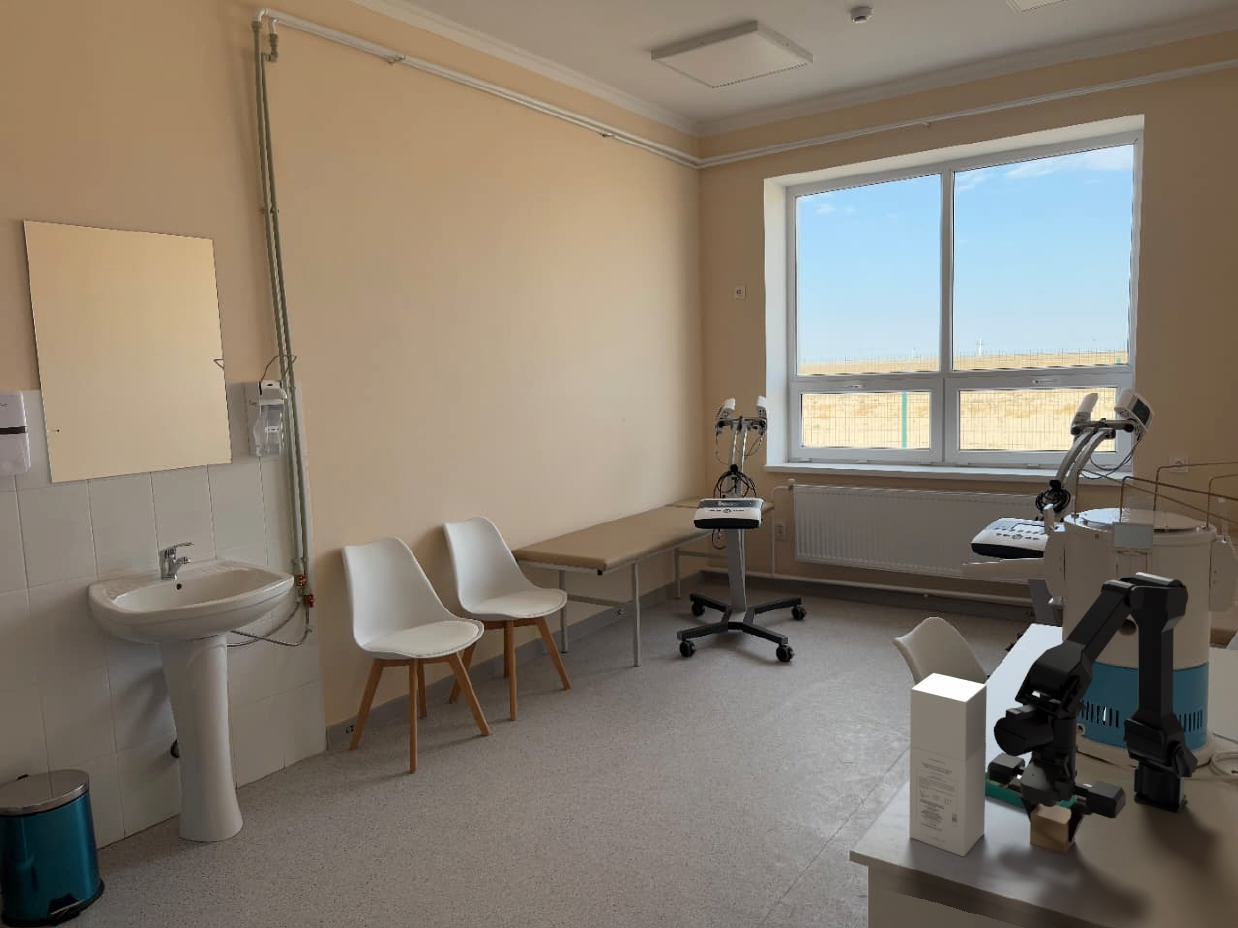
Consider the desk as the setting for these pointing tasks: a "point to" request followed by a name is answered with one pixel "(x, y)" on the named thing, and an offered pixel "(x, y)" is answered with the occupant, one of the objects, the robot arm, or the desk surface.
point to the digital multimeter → (1012, 794)
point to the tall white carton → (947, 762)
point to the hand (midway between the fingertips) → (1052, 834)
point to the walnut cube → (1051, 828)
